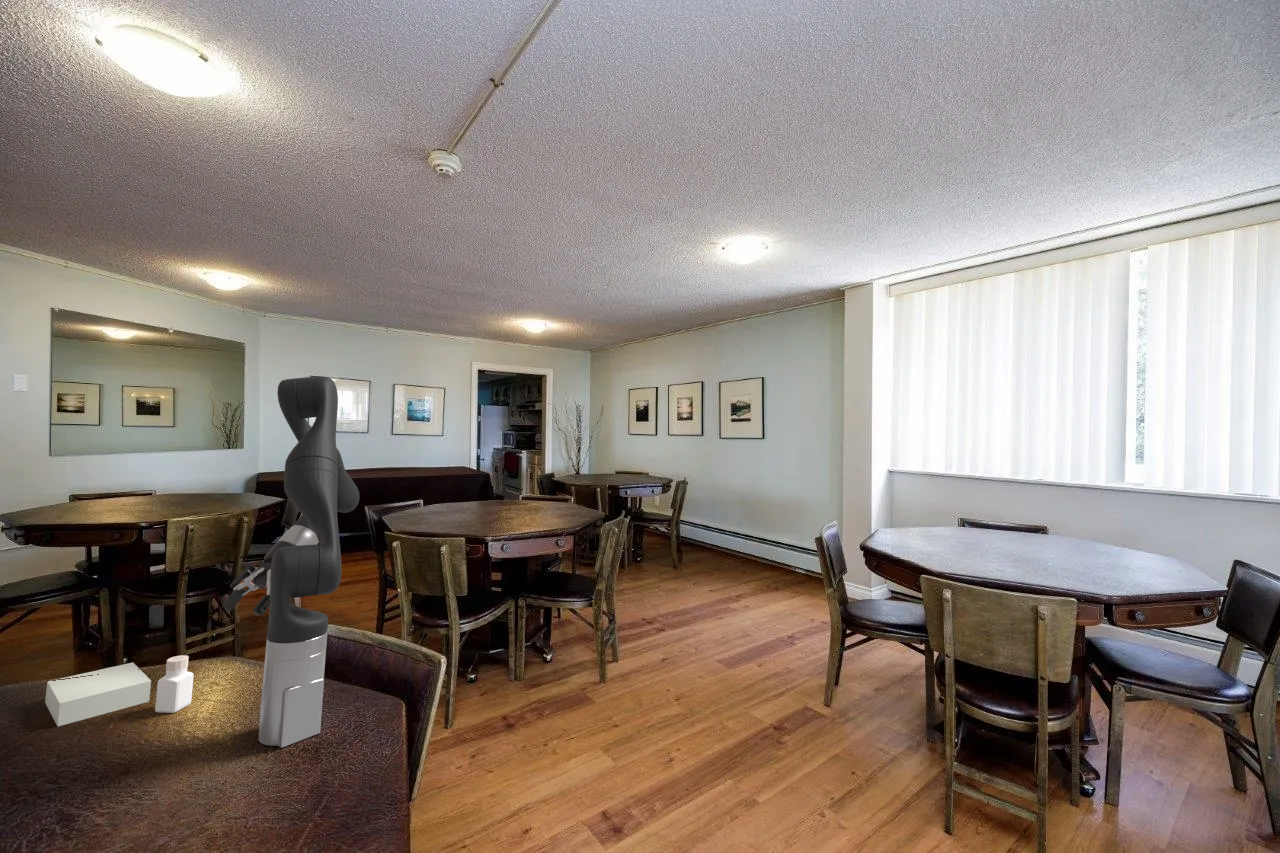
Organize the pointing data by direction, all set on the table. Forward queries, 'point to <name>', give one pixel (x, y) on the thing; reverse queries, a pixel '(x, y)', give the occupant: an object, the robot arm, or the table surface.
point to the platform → (96, 693)
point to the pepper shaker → (174, 686)
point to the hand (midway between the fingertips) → (240, 611)
